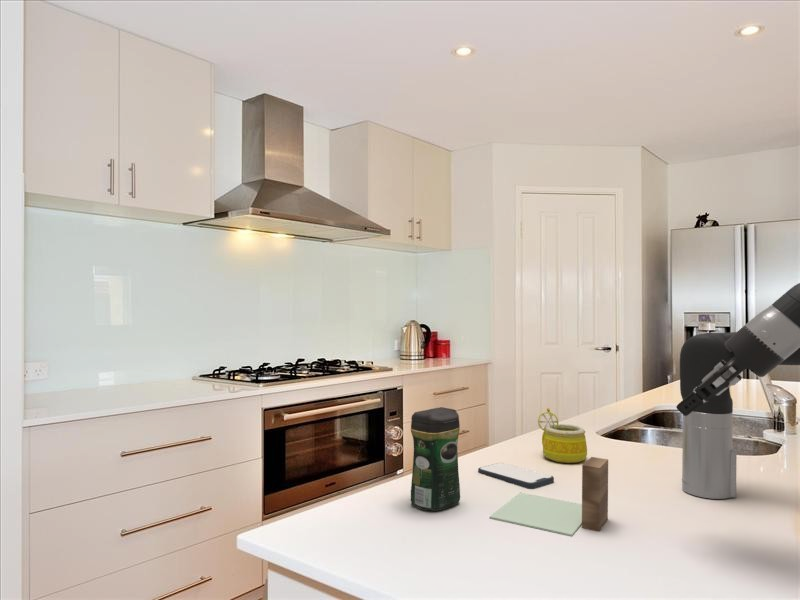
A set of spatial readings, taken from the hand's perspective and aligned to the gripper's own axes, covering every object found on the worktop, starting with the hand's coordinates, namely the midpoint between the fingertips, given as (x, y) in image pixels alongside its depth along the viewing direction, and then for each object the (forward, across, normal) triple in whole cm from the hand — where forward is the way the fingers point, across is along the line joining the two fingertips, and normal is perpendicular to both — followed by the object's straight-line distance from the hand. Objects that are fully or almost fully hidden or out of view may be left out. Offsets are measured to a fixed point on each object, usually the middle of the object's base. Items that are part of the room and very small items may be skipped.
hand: (680, 411), depth 98 cm
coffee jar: (+45, -8, +15) cm, 48 cm away
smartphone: (+40, +18, +10) cm, 45 cm away
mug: (+37, +39, +8) cm, 54 cm away
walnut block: (+25, -1, -5) cm, 25 cm away
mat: (+31, -1, +2) cm, 31 cm away
